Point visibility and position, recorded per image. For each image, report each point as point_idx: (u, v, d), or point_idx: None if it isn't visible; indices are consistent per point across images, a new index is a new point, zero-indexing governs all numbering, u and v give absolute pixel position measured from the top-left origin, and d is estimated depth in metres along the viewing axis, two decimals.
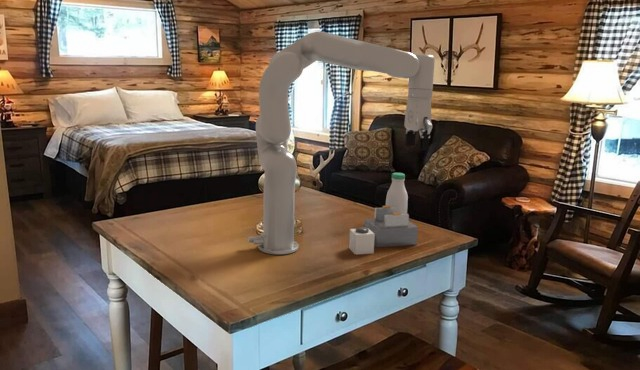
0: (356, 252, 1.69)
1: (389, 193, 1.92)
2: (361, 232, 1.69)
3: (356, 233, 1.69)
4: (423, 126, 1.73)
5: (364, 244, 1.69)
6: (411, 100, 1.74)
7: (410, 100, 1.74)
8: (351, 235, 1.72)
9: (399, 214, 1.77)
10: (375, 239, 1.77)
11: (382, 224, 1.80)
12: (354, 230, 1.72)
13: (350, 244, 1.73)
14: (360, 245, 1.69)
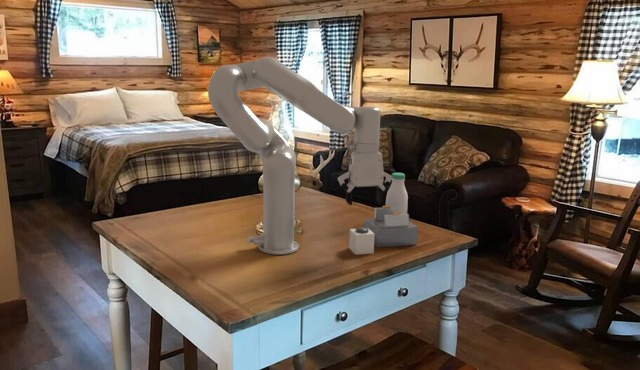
0: (356, 252, 1.69)
1: (389, 193, 1.92)
2: (361, 232, 1.69)
3: (356, 233, 1.69)
4: None
5: (364, 244, 1.69)
6: (367, 155, 1.63)
7: (365, 156, 1.63)
8: (351, 235, 1.72)
9: (399, 214, 1.77)
10: (375, 239, 1.77)
11: (382, 224, 1.80)
12: (354, 230, 1.72)
13: (350, 244, 1.73)
14: (360, 245, 1.69)
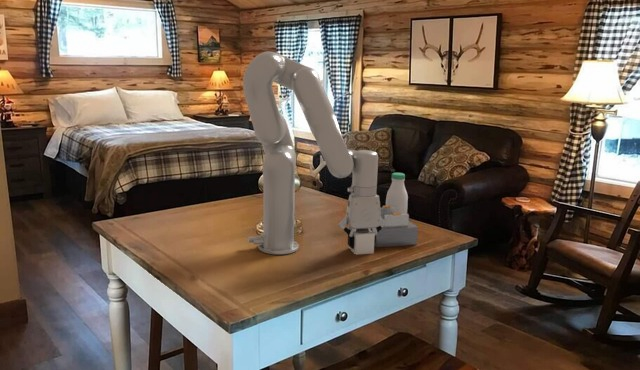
0: (356, 252, 1.69)
1: (389, 193, 1.92)
2: (361, 232, 1.69)
3: (356, 233, 1.69)
4: None
5: (364, 243, 1.69)
6: (364, 199, 1.66)
7: (363, 199, 1.66)
8: None
9: (399, 214, 1.77)
10: None
11: None
12: None
13: None
14: (360, 245, 1.69)
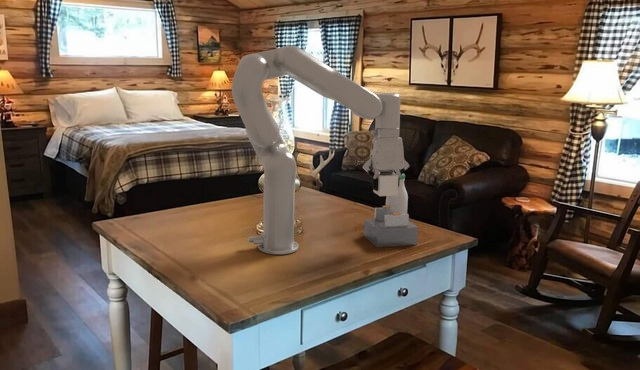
0: (380, 193, 1.72)
1: None
2: (385, 174, 1.73)
3: (380, 175, 1.72)
4: None
5: (388, 185, 1.72)
6: (388, 140, 1.69)
7: (386, 141, 1.69)
8: None
9: (399, 214, 1.77)
10: (375, 239, 1.77)
11: (382, 224, 1.80)
12: None
13: None
14: (384, 186, 1.72)
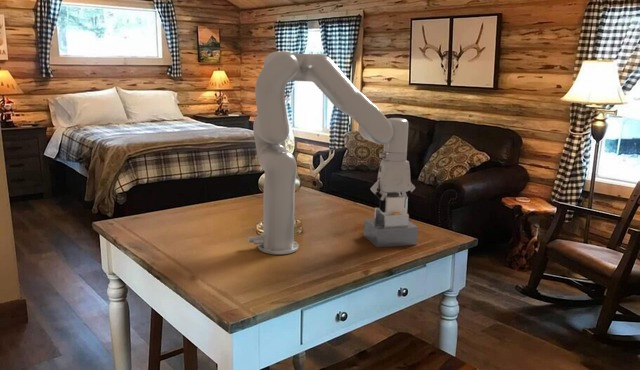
0: None
1: None
2: (392, 196, 1.78)
3: (387, 197, 1.78)
4: None
5: (395, 207, 1.78)
6: (395, 164, 1.75)
7: (394, 164, 1.75)
8: None
9: (399, 214, 1.77)
10: (375, 239, 1.77)
11: (382, 224, 1.80)
12: None
13: None
14: (391, 208, 1.78)
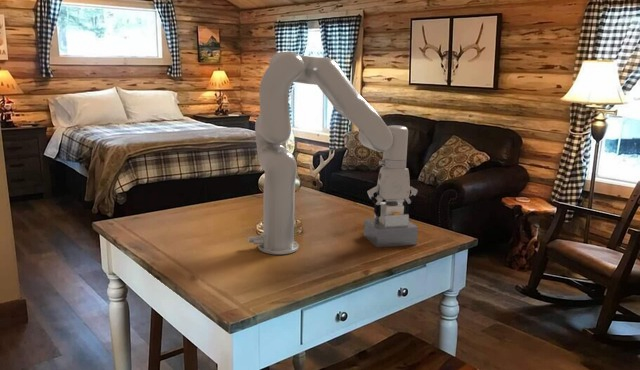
0: None
1: None
2: (391, 204, 1.79)
3: (386, 205, 1.78)
4: None
5: None
6: (395, 171, 1.76)
7: (394, 171, 1.75)
8: (381, 208, 1.81)
9: (399, 214, 1.77)
10: (375, 239, 1.77)
11: (382, 224, 1.80)
12: (384, 203, 1.81)
13: (380, 217, 1.83)
14: None
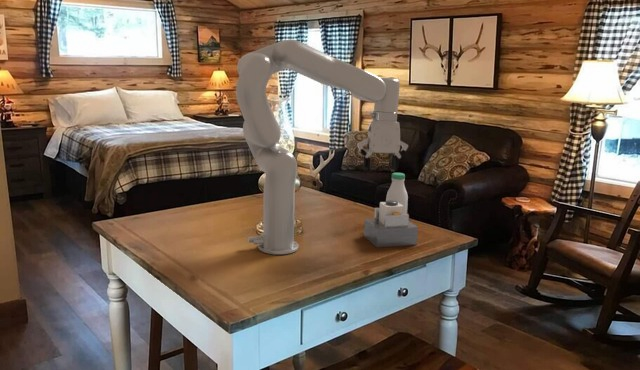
0: None
1: (389, 193, 1.92)
2: (391, 204, 1.79)
3: (386, 205, 1.78)
4: None
5: None
6: (385, 123, 1.74)
7: (384, 124, 1.74)
8: (381, 208, 1.81)
9: (399, 214, 1.77)
10: (375, 239, 1.77)
11: (382, 224, 1.80)
12: (384, 203, 1.81)
13: (380, 217, 1.83)
14: None
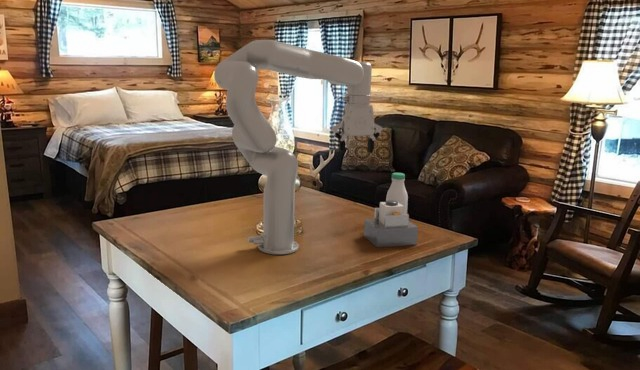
0: None
1: (389, 193, 1.92)
2: (391, 204, 1.79)
3: (386, 205, 1.78)
4: None
5: None
6: (359, 107, 1.77)
7: (357, 107, 1.77)
8: (381, 208, 1.81)
9: (399, 214, 1.77)
10: (375, 239, 1.77)
11: (382, 224, 1.80)
12: (384, 203, 1.81)
13: (380, 217, 1.83)
14: None
